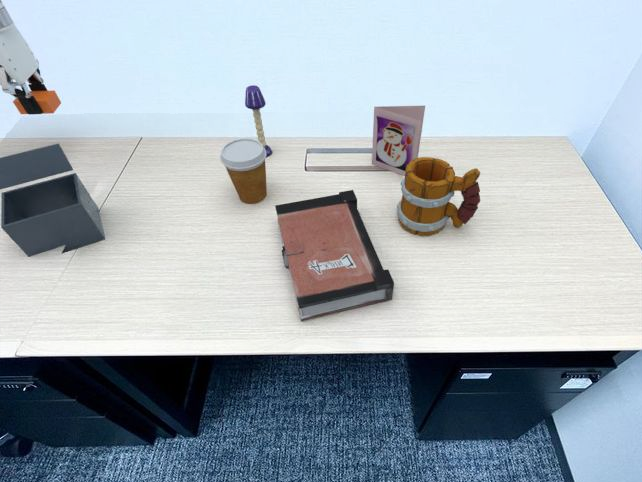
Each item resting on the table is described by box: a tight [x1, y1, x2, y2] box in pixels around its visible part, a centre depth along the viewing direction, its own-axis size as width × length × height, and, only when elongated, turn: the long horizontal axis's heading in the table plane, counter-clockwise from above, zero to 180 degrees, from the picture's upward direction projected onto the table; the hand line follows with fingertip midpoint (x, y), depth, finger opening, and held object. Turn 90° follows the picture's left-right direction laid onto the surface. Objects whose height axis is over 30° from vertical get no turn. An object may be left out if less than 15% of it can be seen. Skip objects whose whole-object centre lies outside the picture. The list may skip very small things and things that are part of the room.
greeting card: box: [371, 105, 426, 177], centre depth 93 cm, size 11×7×15 cm, turn 58°
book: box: [274, 189, 395, 322], centre depth 77 cm, size 26×18×5 cm
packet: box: [12, 90, 62, 115], centre depth 91 cm, size 7×5×3 cm
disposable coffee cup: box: [219, 137, 268, 205], centre depth 87 cm, size 10×10×12 cm
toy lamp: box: [244, 84, 273, 158], centre depth 96 cm, size 5×5×17 cm
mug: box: [396, 156, 481, 237], centre depth 80 cm, size 11×16×15 cm, turn 70°
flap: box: [0, 143, 74, 190], centre depth 77 cm, size 13×5×1 cm
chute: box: [0, 172, 106, 258], centre depth 79 cm, size 13×11×10 cm
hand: (40, 106), depth 92 cm, fingers closed on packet, 5 cm apart
